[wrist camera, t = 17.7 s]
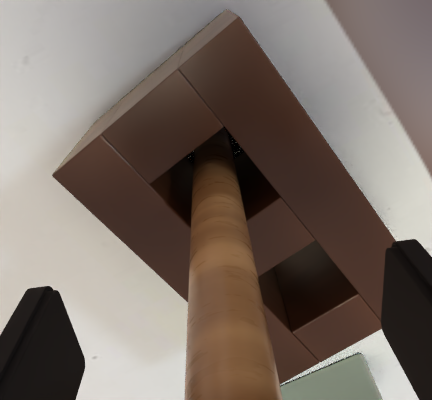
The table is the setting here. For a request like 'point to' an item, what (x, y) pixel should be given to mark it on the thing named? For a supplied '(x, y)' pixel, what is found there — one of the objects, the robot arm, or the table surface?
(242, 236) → the stirring stick
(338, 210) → the holder
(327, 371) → the planter
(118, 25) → the table surface
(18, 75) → the table surface
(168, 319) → the table surface
